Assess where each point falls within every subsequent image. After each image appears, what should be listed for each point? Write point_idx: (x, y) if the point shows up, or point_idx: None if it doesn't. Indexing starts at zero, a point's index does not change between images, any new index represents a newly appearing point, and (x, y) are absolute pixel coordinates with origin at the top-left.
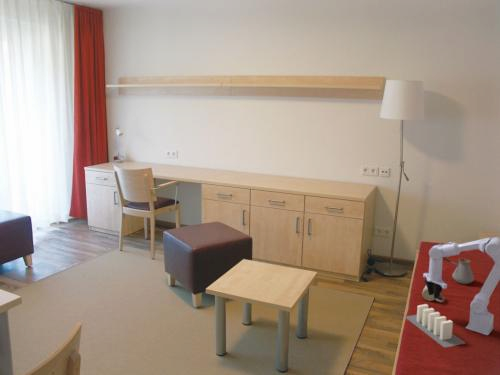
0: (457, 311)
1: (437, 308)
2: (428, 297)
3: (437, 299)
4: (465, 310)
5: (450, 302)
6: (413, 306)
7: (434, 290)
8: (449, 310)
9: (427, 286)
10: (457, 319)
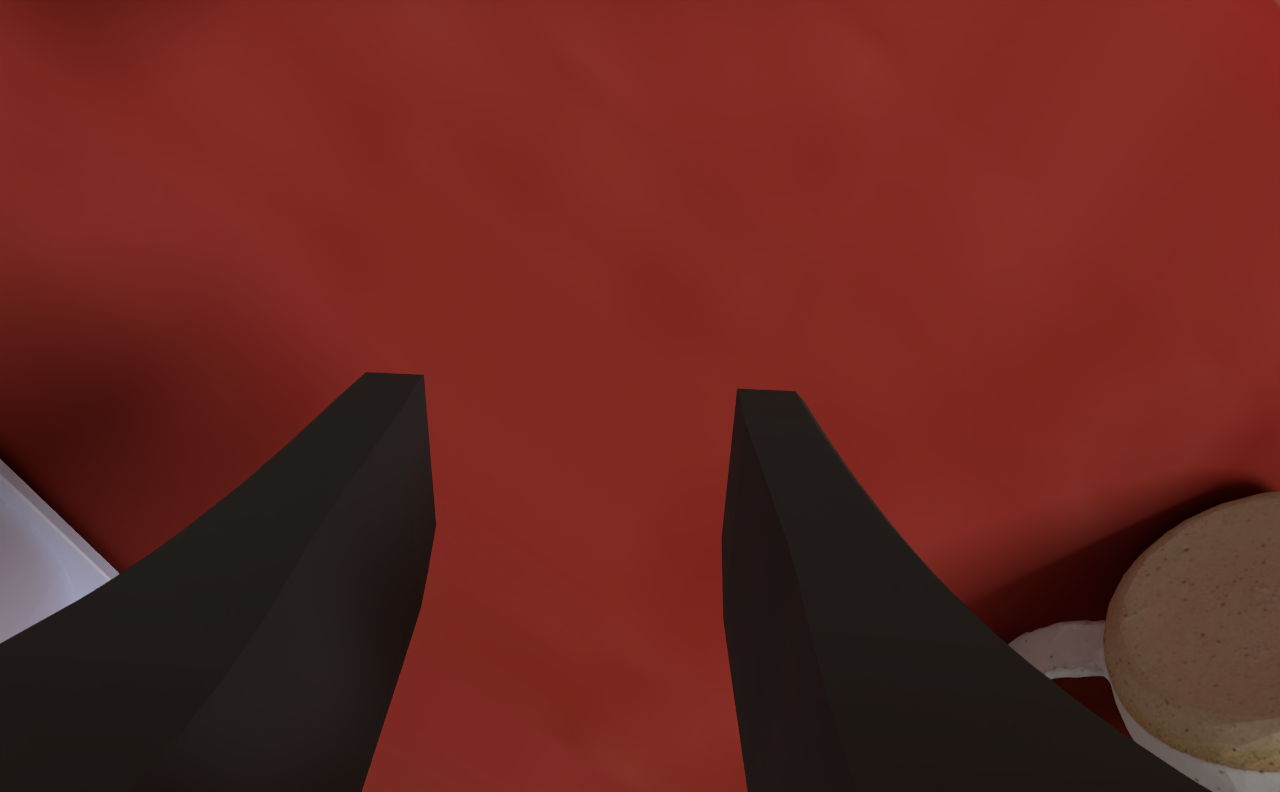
0: (590, 668)
1: (853, 456)
2: (1239, 562)
3: (1060, 655)
4: (573, 778)
5: None
6: (1264, 7)
7: (151, 624)
8: (679, 587)
9: (926, 642)
10: None
